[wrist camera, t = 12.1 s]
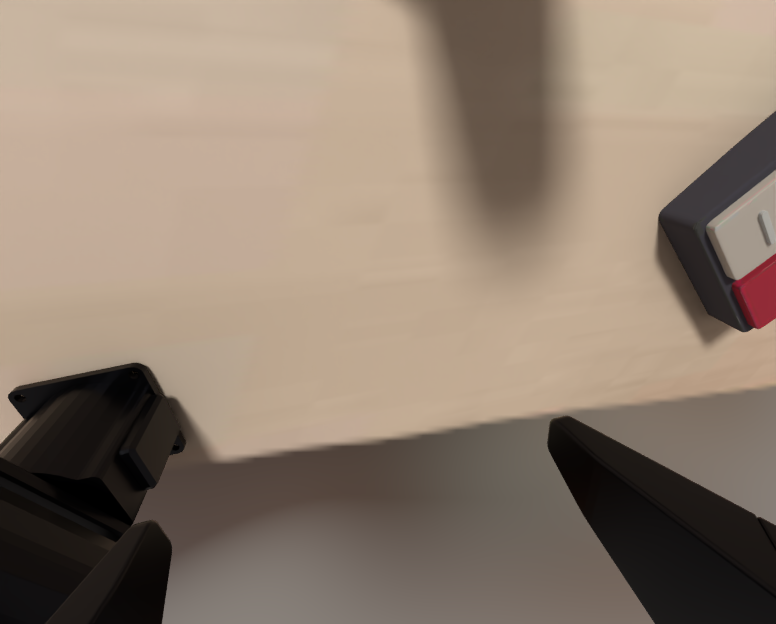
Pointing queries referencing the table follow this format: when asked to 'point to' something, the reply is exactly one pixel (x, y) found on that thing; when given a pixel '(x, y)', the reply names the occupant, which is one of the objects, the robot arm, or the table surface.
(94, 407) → the robot arm
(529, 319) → the table surface
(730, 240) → the calculator
